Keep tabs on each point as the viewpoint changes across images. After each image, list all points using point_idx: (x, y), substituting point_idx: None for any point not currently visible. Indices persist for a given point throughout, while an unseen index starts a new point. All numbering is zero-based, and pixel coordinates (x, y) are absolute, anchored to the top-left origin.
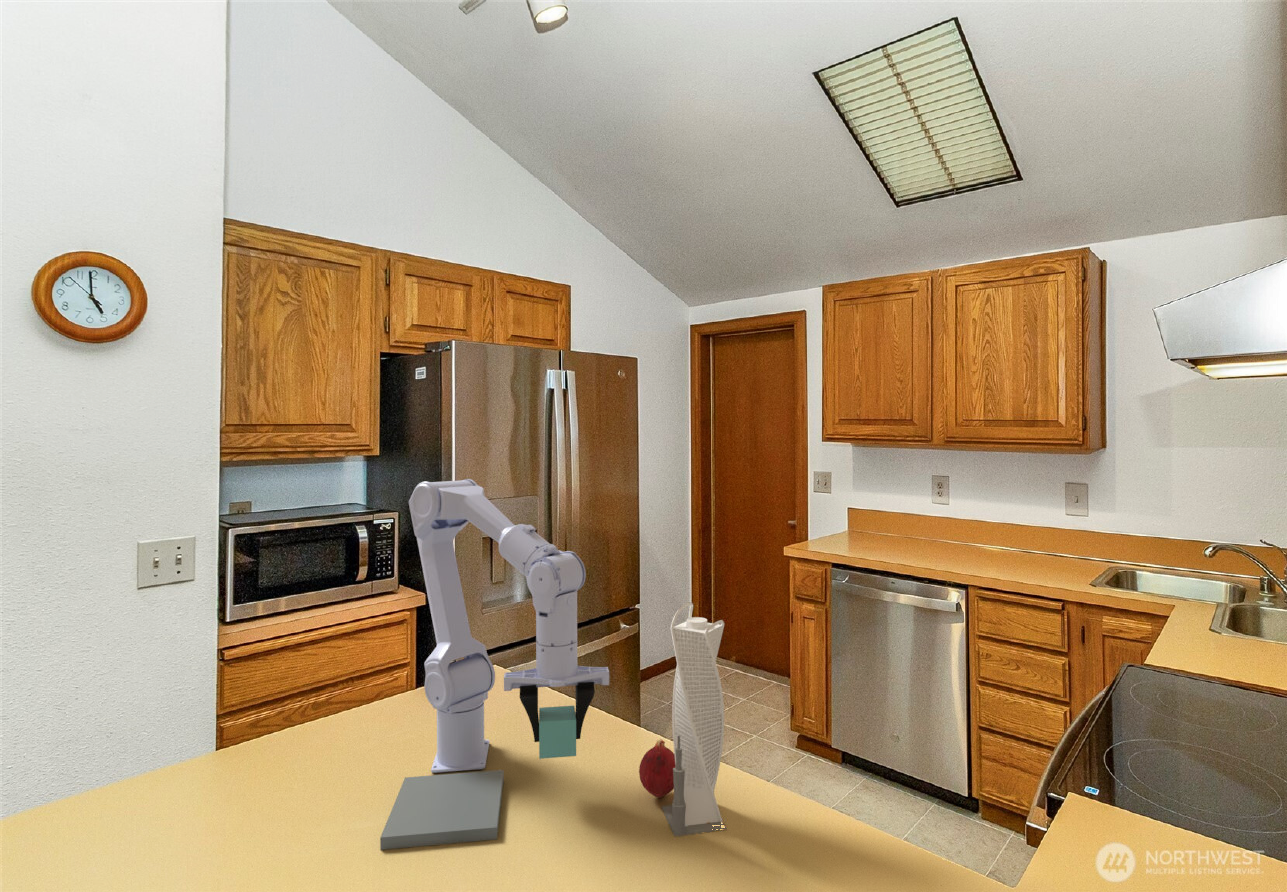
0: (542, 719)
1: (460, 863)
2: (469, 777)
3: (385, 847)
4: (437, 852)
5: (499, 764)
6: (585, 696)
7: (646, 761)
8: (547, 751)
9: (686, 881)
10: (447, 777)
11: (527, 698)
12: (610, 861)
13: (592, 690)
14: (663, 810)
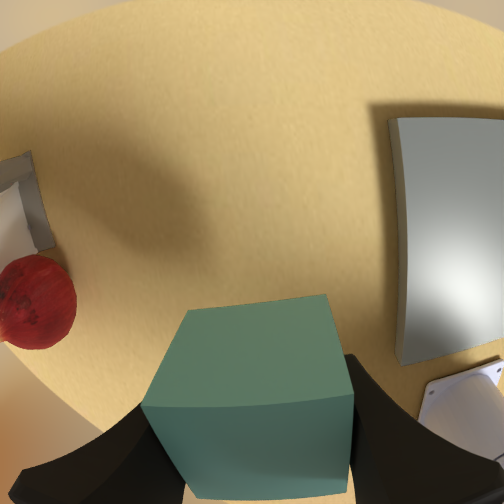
0: (333, 419)
1: (432, 50)
2: (464, 333)
3: None
4: (479, 94)
5: (399, 399)
6: (42, 486)
7: (29, 300)
8: (295, 310)
9: (26, 40)
10: (496, 328)
11: (478, 494)
12: (126, 52)
13: (16, 502)
14: (49, 231)
